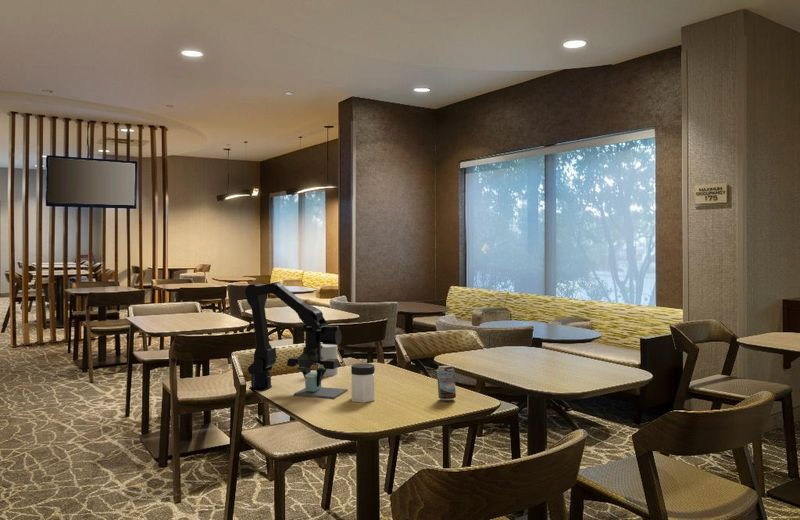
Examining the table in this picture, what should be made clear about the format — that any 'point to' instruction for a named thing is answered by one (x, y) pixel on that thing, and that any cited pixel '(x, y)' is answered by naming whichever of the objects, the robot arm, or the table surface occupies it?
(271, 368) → the robot arm
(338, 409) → the table surface
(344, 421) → the table surface
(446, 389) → the beverage can
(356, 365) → the jar
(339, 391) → the mat
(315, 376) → the pale teal block
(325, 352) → the cup
